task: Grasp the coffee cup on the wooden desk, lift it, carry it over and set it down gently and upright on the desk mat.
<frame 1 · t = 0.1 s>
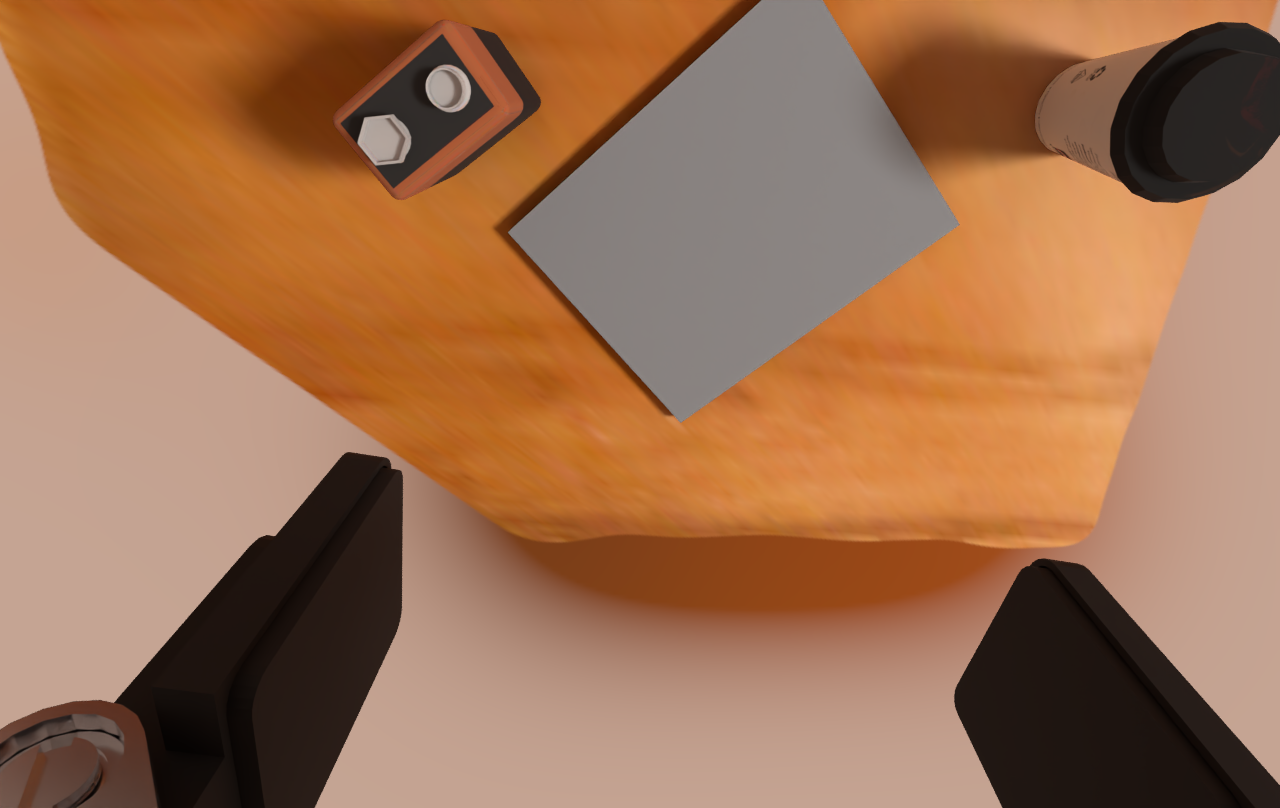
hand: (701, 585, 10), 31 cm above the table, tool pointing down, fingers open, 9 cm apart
coffee cup: (1077, 108, 35), on the table
desk mat: (729, 225, 38), on the table
battery: (473, 106, 36), on the table
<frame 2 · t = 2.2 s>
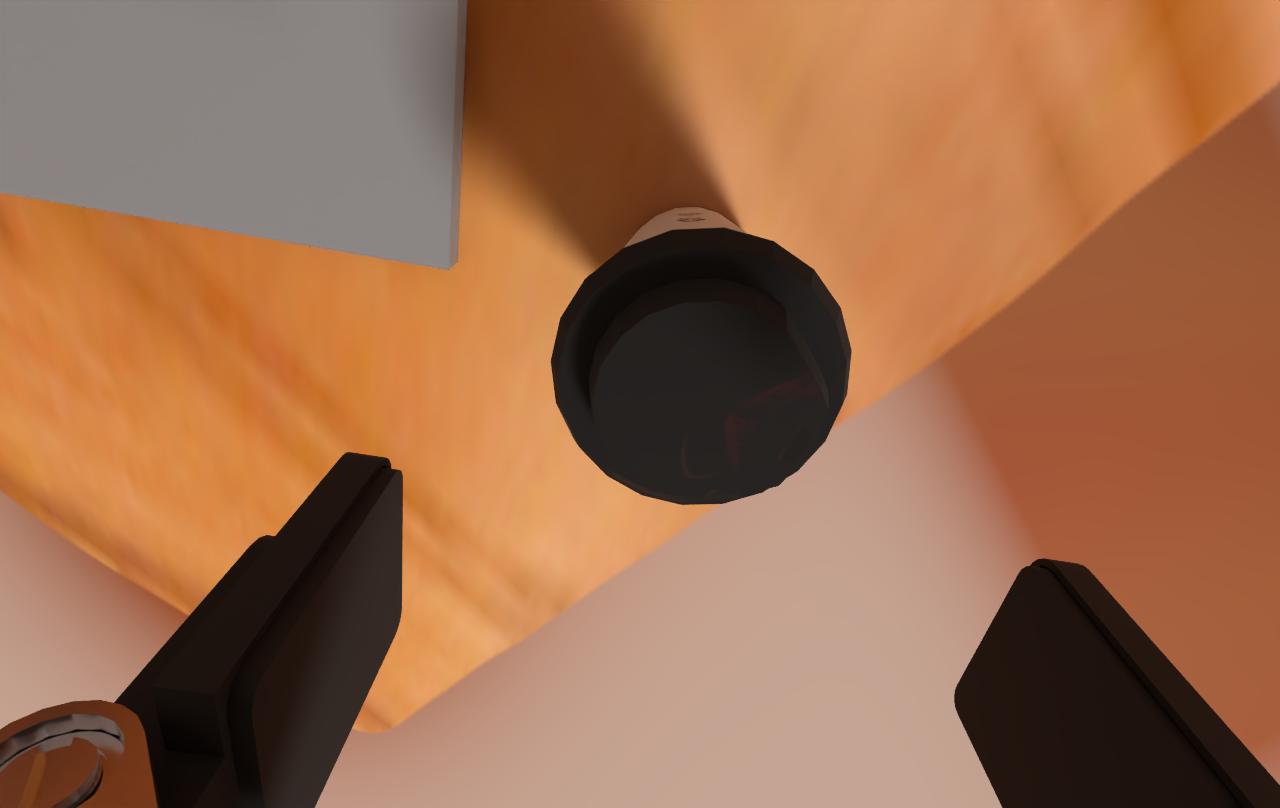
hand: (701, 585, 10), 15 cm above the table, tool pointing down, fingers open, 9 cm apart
coffee cup: (687, 272, 23), on the table
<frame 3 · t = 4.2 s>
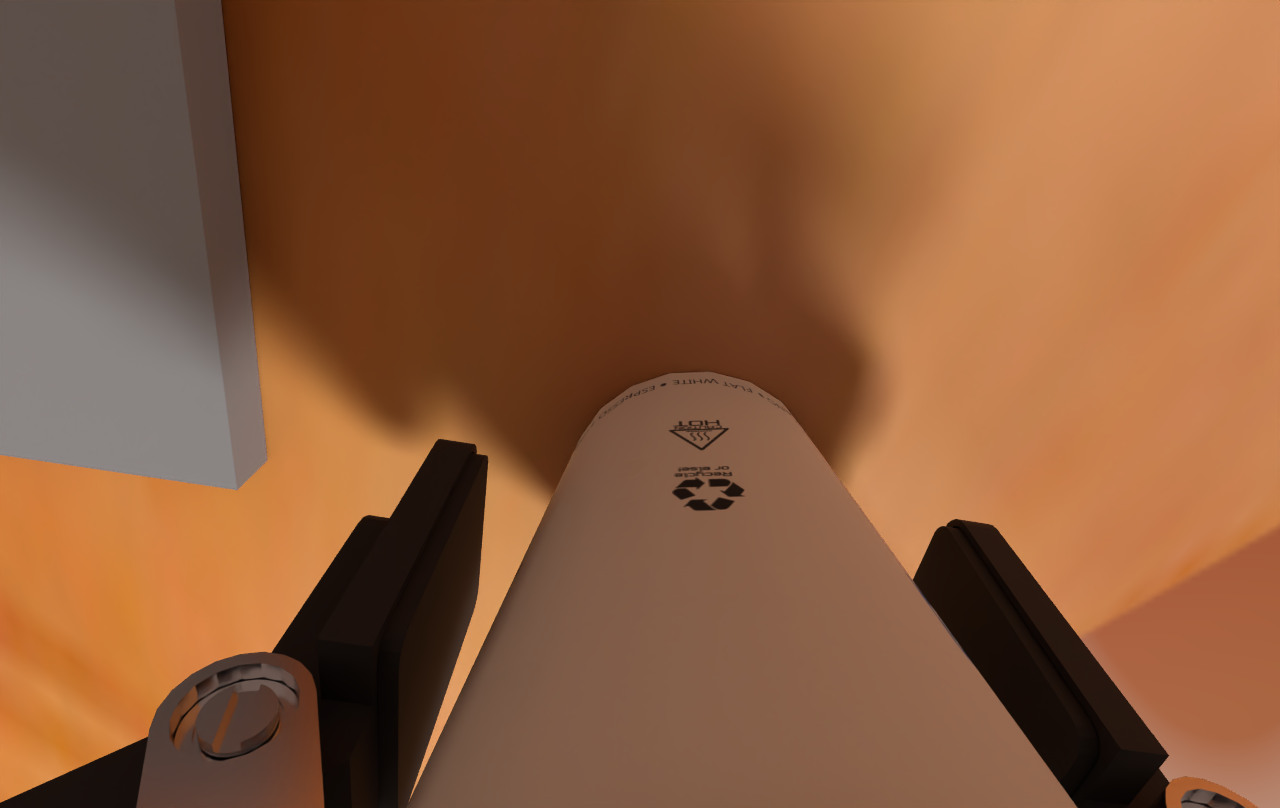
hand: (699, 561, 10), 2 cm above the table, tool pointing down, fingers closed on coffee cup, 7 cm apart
coffee cup: (691, 475, 13), on the table, touching gripper
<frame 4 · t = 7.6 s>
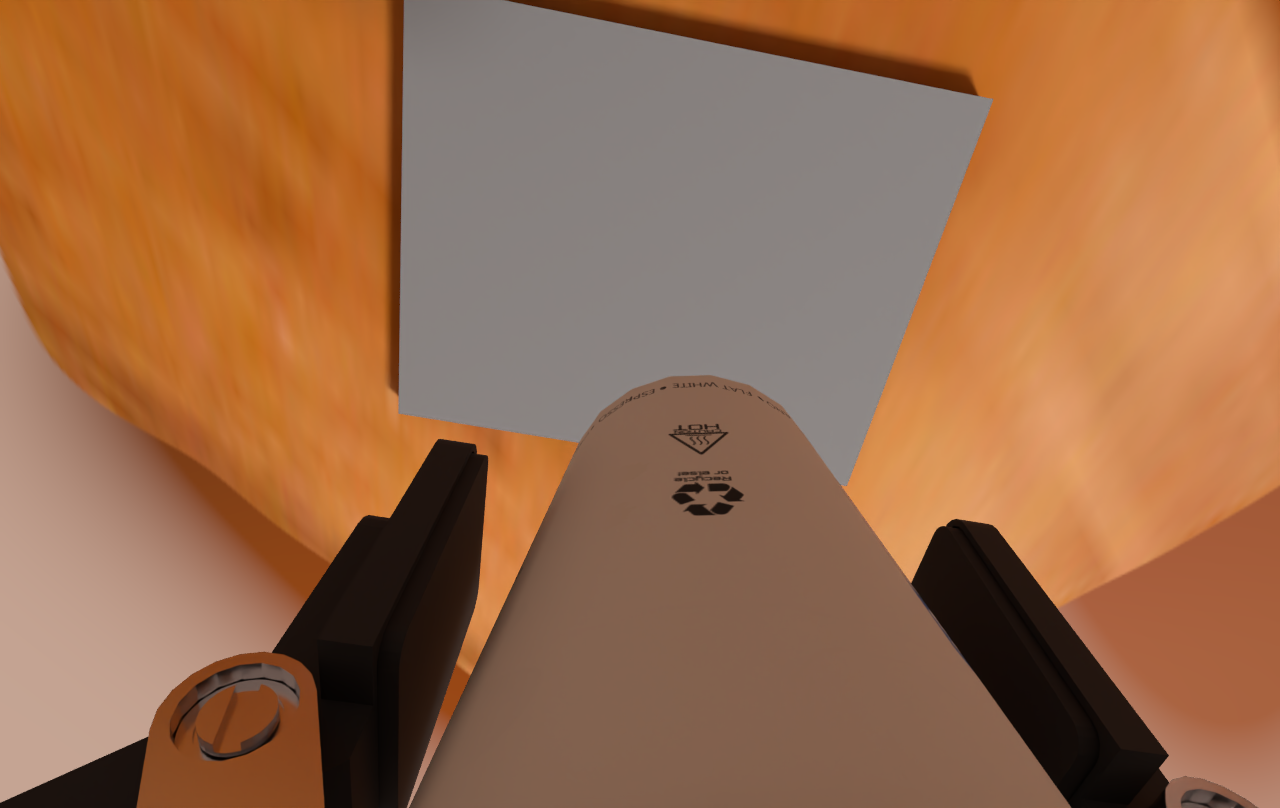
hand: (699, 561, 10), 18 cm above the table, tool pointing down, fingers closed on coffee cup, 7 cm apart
coffee cup: (691, 478, 13), point 15 cm above the table, touching gripper
desk mat: (661, 267, 26), on the table
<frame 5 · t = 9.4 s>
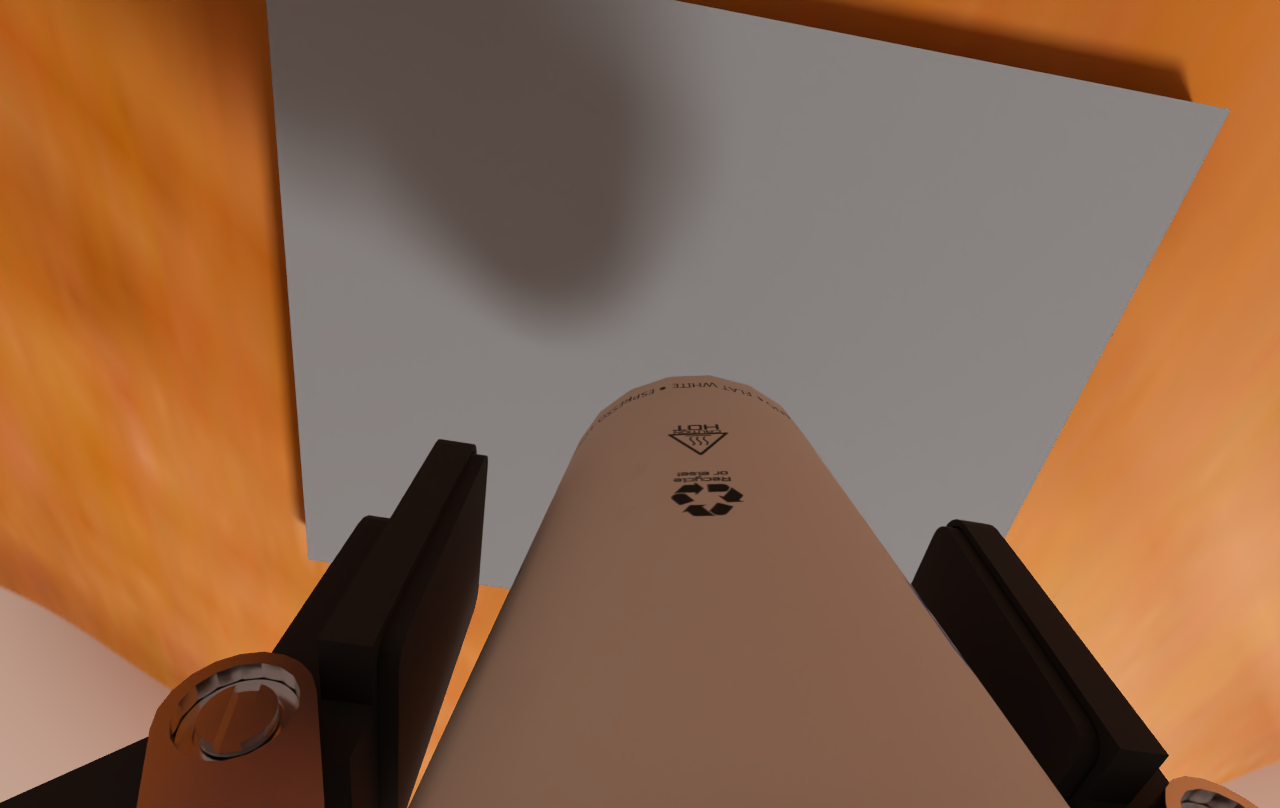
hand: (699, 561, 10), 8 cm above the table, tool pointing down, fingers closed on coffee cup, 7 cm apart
coffee cup: (690, 478, 13), point 6 cm above the table, touching gripper
desk mat: (684, 360, 18), on the table
when the fingers open (4 cm above the table, at t = 11.2 s): coffee cup stays where it is, resting on desk mat.
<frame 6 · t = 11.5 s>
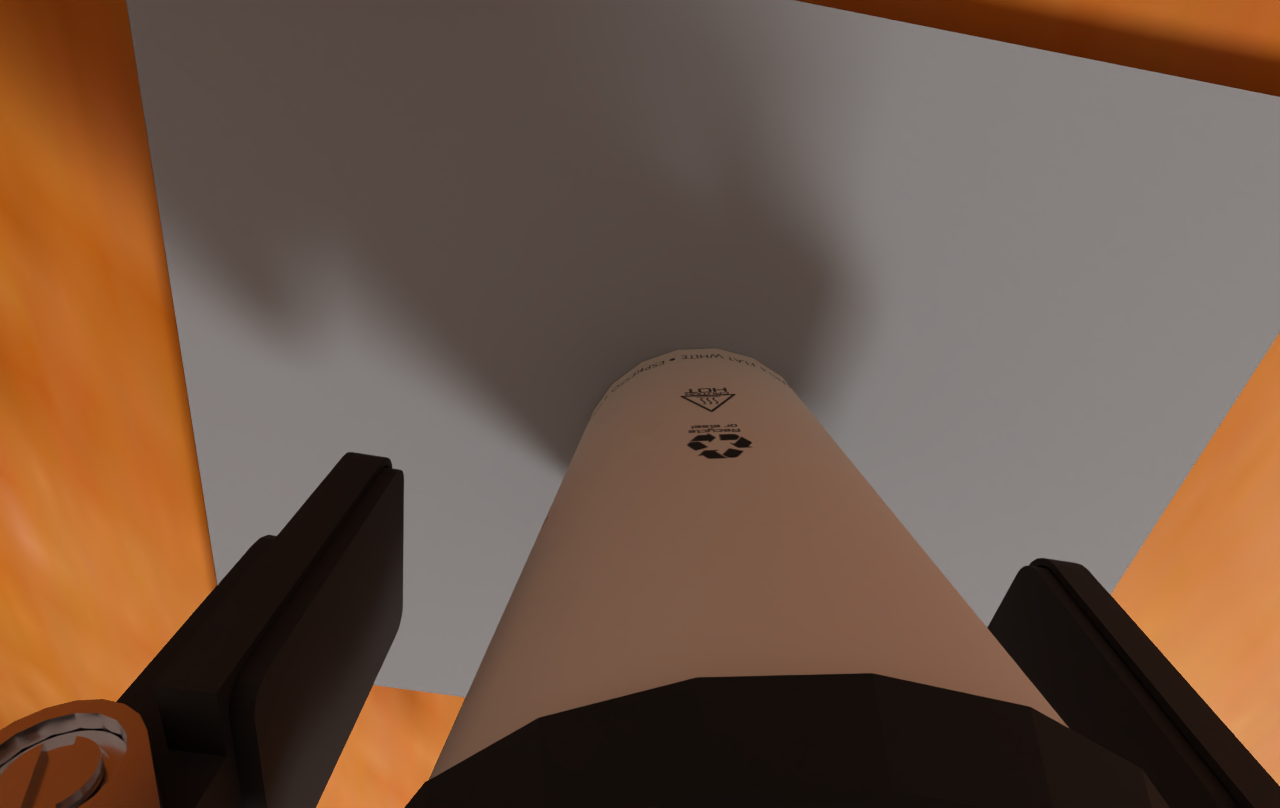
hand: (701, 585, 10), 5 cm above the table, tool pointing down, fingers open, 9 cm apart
coffee cup: (697, 448, 13), point 1 cm above the table, touching desk mat
desk mat: (687, 431, 14), on the table
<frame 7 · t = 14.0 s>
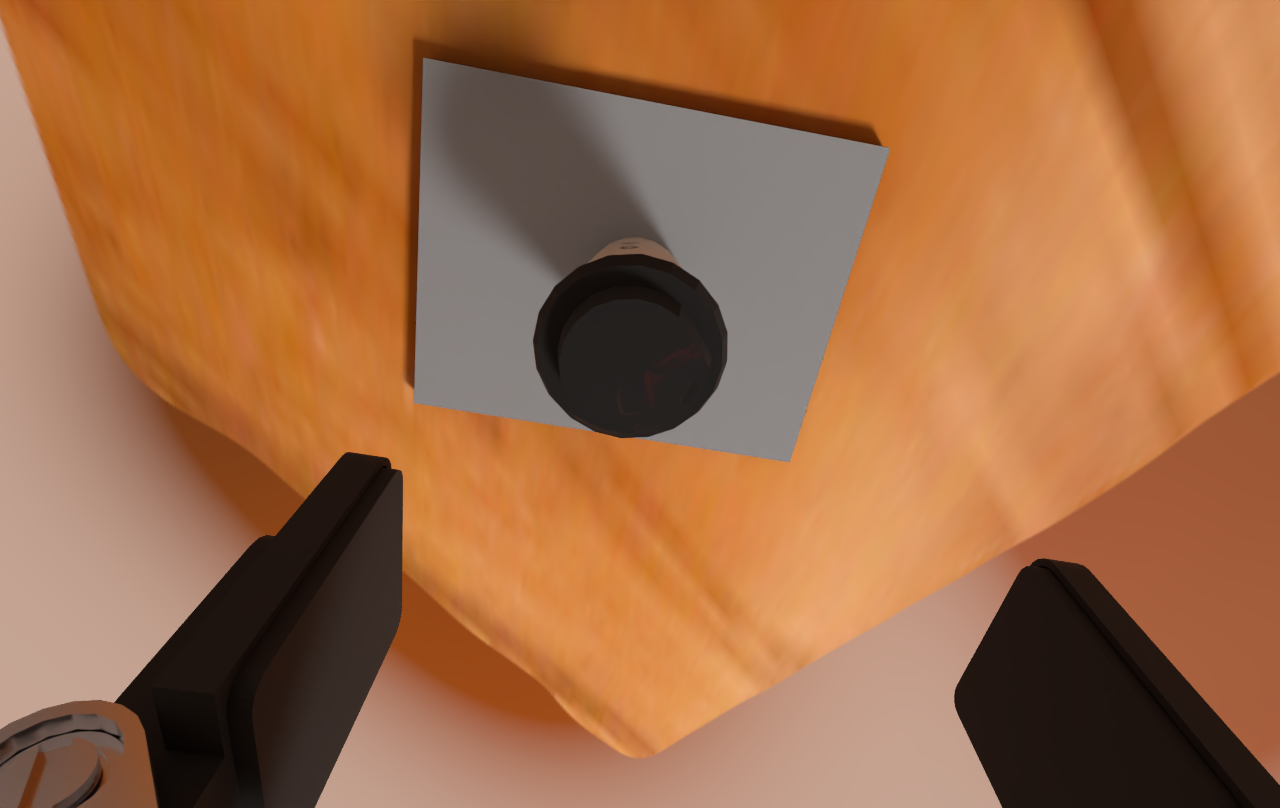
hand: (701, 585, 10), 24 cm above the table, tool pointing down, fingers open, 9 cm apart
coffee cup: (634, 284, 31), point 1 cm above the table, touching desk mat
desk mat: (631, 281, 32), on the table
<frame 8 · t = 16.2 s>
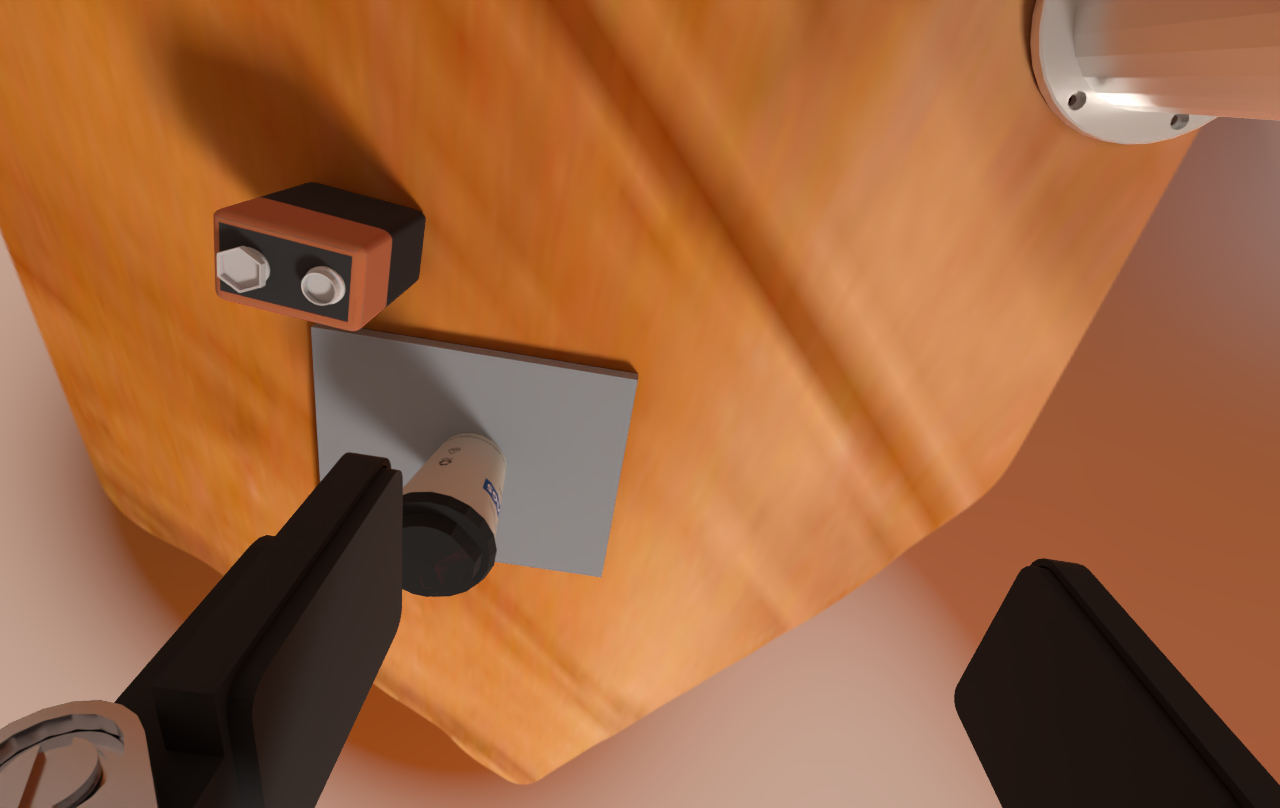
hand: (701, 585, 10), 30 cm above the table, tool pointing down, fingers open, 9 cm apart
coffee cup: (472, 461, 44), point 1 cm above the table, touching desk mat
desk mat: (473, 456, 44), on the table
battery: (367, 231, 38), on the table
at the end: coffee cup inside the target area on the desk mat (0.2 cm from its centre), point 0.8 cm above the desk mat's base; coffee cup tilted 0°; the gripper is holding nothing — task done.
